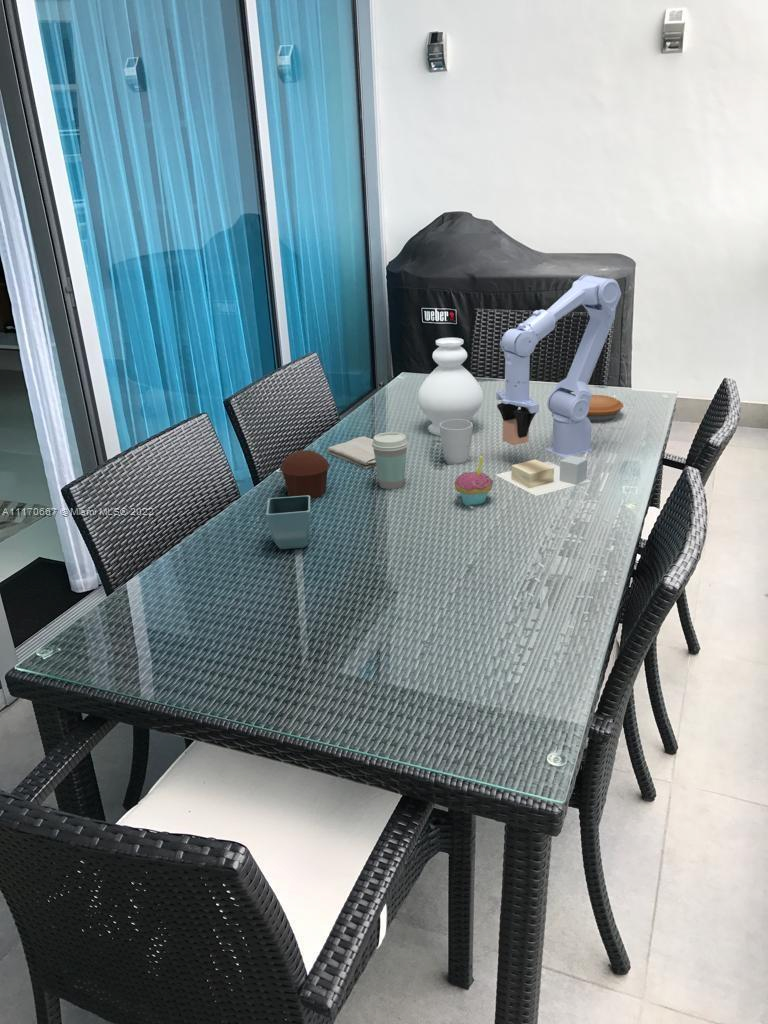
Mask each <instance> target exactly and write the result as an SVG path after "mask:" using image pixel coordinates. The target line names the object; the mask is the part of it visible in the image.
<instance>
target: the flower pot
mask: <svg viewBox="0 0 768 1024" xmlns="http://www.w3.org/2000/svg"><path fill="white" fill-rule="evenodd" d="M265 512H266V515H265V516H266V518H267V522H268V528H269V533H270V535H271V538H272V540H273V542H274V544H275V545H276V546H277V547H278V548H279V550H287V549H302V548H305V547H306V545H307V543H308V541H309V538H310V533H311V500H310V496H309V495H306V496H293V497H290V496H283V497H280V496H279V497H271V498H268V499H267V505H266V511H265Z"/></svg>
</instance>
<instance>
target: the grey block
mask: <svg viewBox="0 0 768 1024" xmlns="http://www.w3.org/2000/svg"><path fill="white" fill-rule="evenodd" d="M559 461H560V462H559V467H560V481H563V482H567V483H571V484H575V485H576V486H578V485H577V484H579V483H580V482H582V481H584V480H585V479H587V476H588V475H587V472H588V458H585V457H584V458H583V457H579V456H576V455H570V456H568V457H563V459H561V460H559ZM579 485H580V484H579Z"/></svg>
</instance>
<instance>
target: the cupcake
mask: <svg viewBox="0 0 768 1024" xmlns="http://www.w3.org/2000/svg"><path fill="white" fill-rule="evenodd" d="M483 455H484V453H481V455H480V456H479V460H478V465H477V471H476V470H475V471H468V472H463V473H461V474H460V475H458V476H457V478H455V481H454V489H455V491H456V492H458V493H459V494H460V496H461V497H460V498H461V499H462V503H463V505H465V506H468V507H472V506H473V505H474V506H475V505H481V504H483V503H485V501H486V499H487V496H488V493H489V492H491V491H492V489H493V485H494V480H493V479H492V478H491V477H490V476H489V475H487V474H486V473H484V472H481V470H482V465H483V458H484V457H483Z"/></svg>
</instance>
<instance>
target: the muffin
mask: <svg viewBox="0 0 768 1024" xmlns="http://www.w3.org/2000/svg"><path fill="white" fill-rule="evenodd" d="M330 467H331V464H330V463H329V462H328V460H327V459H326V458H325V457H324V456H323V455H322V454H321V453H318V452H316V451H314V450H307V449H306V450H303V449H302V450H297V451H294V452H292V453H290V454H288V455H287V456H285V458H284V459H283V461H282V463H281V465H280V467H279V470H280V471H281V473H282V475H283V478H284V482H285V483H284V484H285V486H286V491H287V495H289V497H293V496H306V495H309V496H310V501H311V500H313V499H317V498H321V497H322V496H323V495H324V494H326V491H327V481H328V470H329V468H330Z"/></svg>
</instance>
